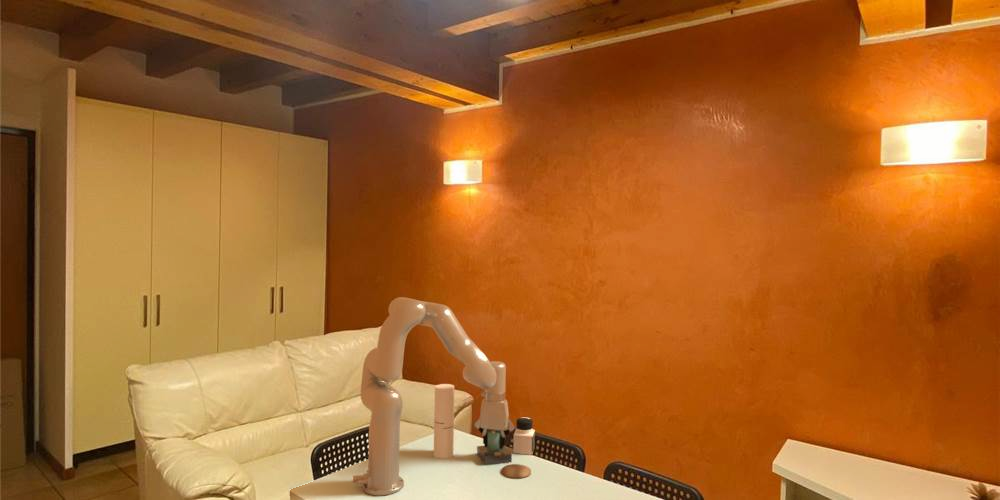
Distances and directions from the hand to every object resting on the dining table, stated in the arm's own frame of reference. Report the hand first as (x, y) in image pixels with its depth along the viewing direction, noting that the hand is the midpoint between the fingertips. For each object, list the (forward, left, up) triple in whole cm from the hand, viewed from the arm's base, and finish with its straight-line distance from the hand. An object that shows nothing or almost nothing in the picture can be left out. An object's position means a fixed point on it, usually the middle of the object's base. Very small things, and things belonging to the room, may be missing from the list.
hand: (494, 446), depth 182 cm
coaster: (+4, -13, -4) cm, 14 cm away
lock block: (0, 0, -4) cm, 4 cm away
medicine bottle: (+13, +4, -5) cm, 14 cm away
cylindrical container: (-17, +8, -5) cm, 19 cm away
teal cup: (0, 0, -1) cm, 1 cm away
